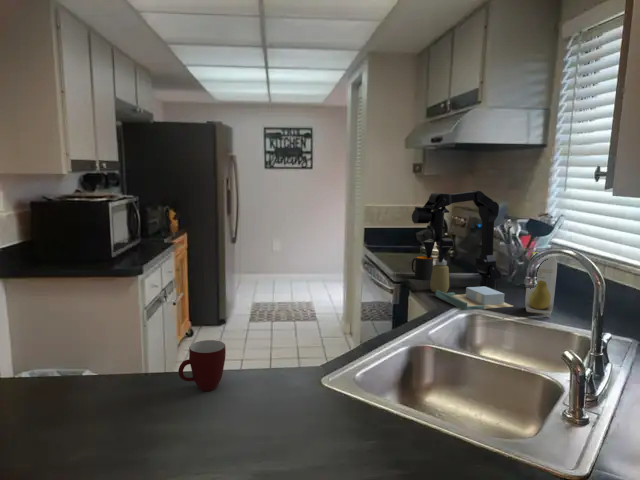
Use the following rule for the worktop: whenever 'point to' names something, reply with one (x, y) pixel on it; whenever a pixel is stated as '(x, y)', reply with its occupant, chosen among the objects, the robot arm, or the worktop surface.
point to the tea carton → (485, 295)
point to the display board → (466, 301)
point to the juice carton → (542, 289)
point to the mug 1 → (205, 364)
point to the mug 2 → (423, 267)
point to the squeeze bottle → (440, 277)
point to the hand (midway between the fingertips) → (434, 260)
